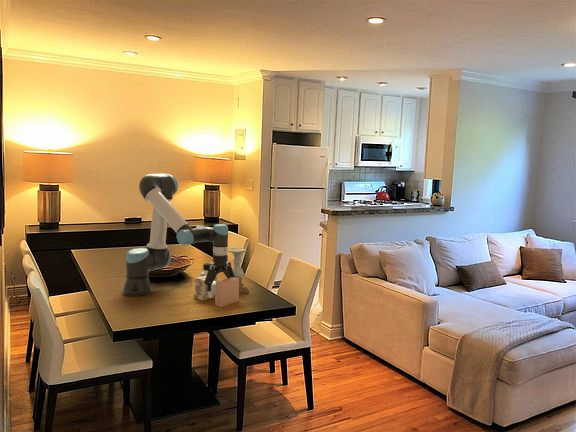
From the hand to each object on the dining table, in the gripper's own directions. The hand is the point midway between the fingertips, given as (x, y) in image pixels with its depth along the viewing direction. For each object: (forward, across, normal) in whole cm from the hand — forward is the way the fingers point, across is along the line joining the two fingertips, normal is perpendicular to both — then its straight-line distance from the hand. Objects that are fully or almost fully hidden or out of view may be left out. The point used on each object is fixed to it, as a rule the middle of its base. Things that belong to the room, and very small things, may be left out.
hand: (219, 294), depth 257 cm
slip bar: (-1, 0, +2) cm, 2 cm away
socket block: (+4, 0, -6) cm, 7 cm away
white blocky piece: (+4, 0, +11) cm, 11 cm away
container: (+4, +19, +27) cm, 33 cm away
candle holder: (+4, +20, +6) cm, 21 cm away
